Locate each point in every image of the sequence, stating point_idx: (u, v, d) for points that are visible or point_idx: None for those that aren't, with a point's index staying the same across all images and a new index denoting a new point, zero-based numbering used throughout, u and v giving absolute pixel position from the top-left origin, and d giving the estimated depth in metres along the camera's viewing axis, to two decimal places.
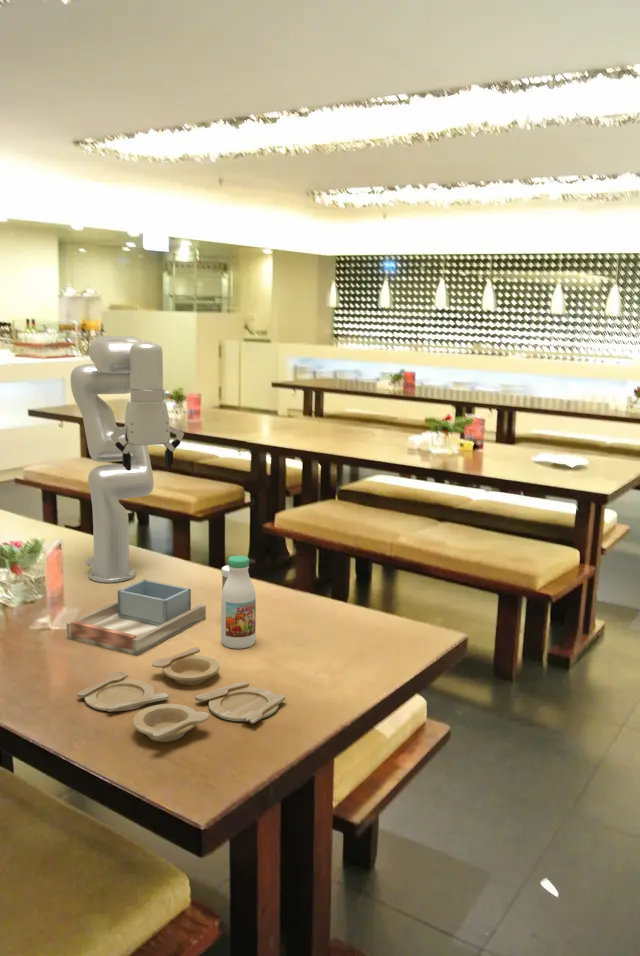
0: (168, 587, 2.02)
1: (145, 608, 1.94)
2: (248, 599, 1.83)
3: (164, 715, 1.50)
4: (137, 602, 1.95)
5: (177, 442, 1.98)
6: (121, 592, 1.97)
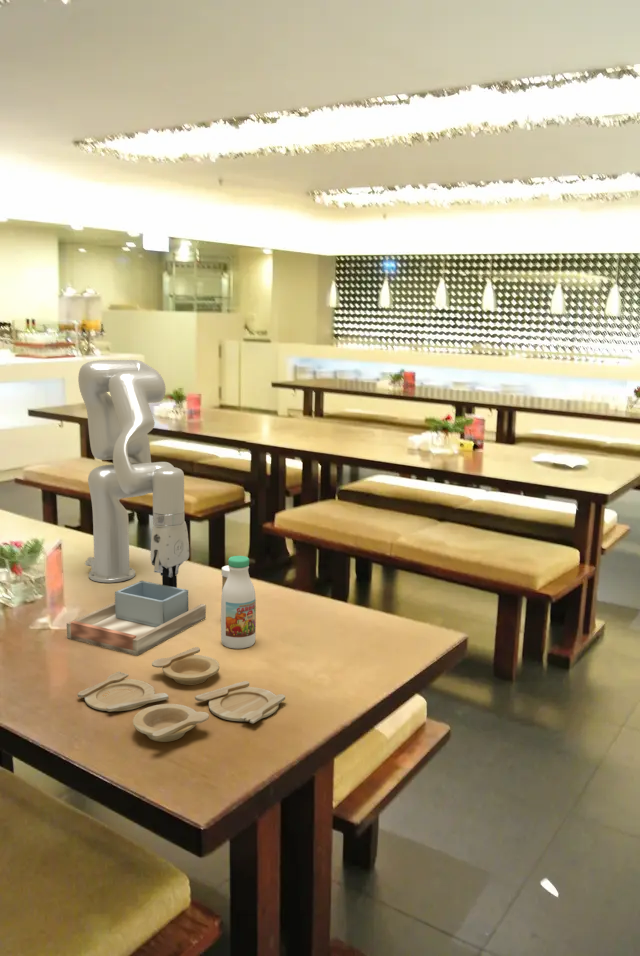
0: (166, 588, 2.01)
1: (142, 609, 1.94)
2: (248, 599, 1.83)
3: (164, 715, 1.50)
4: (134, 604, 1.94)
5: None
6: (118, 593, 1.96)
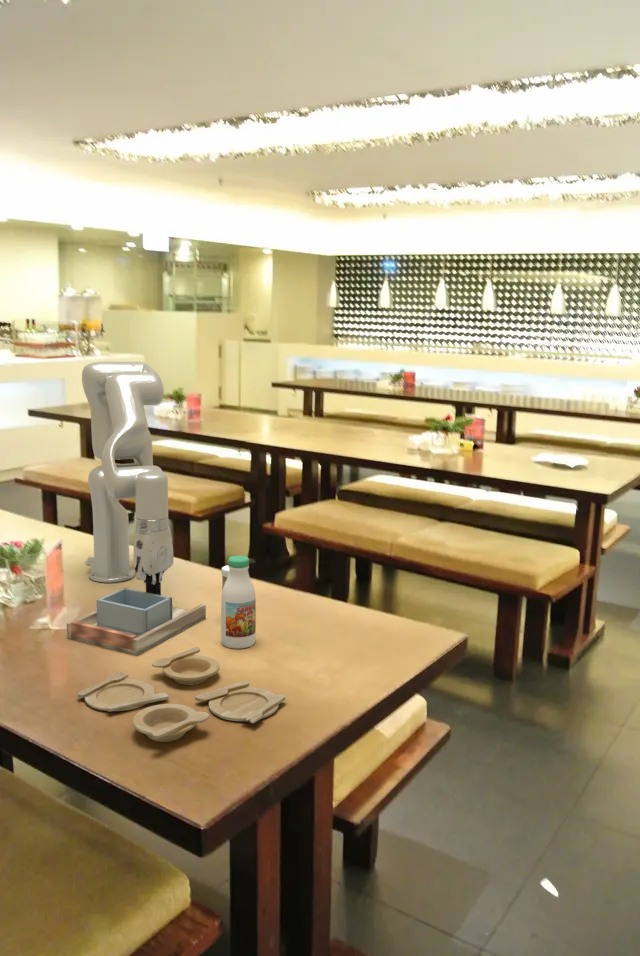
0: (149, 596, 1.96)
1: (124, 618, 1.88)
2: (247, 599, 1.83)
3: (164, 715, 1.50)
4: (116, 612, 1.89)
5: None
6: (100, 601, 1.91)
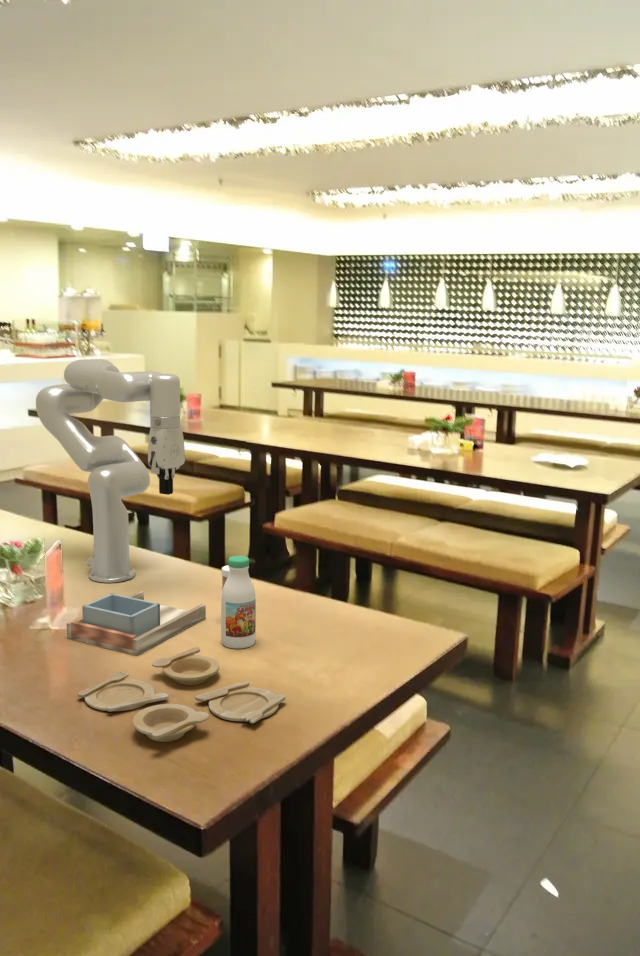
0: (136, 602, 1.92)
1: (111, 624, 1.84)
2: (247, 599, 1.83)
3: (164, 715, 1.50)
4: (102, 618, 1.85)
5: None
6: (86, 607, 1.86)
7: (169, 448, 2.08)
